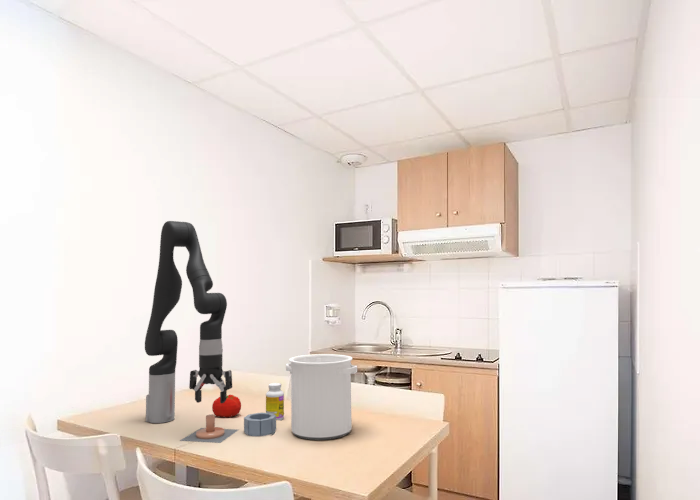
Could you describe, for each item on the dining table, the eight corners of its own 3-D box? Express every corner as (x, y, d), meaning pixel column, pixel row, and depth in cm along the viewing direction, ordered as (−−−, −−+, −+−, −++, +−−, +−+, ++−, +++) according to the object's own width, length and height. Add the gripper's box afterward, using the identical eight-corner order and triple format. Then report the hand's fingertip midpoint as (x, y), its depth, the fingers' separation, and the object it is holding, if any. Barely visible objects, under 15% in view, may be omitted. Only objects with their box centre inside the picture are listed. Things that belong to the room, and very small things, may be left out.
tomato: (230, 421, 177) (230, 400, 177) (206, 418, 181) (206, 398, 181) (247, 413, 187) (247, 394, 187) (223, 411, 191) (223, 392, 191)
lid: (190, 438, 155) (190, 419, 155) (204, 430, 163) (204, 411, 164) (216, 439, 153) (216, 419, 153) (229, 431, 162) (229, 412, 162)
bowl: (240, 437, 157) (240, 420, 158) (252, 428, 167) (252, 412, 167) (269, 438, 155) (268, 421, 156) (279, 429, 165) (279, 413, 166)
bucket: (367, 425, 168) (366, 355, 170) (346, 445, 148) (345, 364, 150) (300, 420, 177) (300, 352, 178) (272, 437, 156) (272, 361, 158)
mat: (179, 442, 153) (179, 440, 153) (201, 429, 166) (201, 427, 166) (220, 444, 150) (220, 442, 150) (239, 431, 164) (239, 429, 164)
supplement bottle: (280, 422, 174) (280, 386, 175) (263, 421, 175) (263, 385, 176) (286, 417, 181) (286, 382, 182) (269, 416, 182) (269, 382, 183)
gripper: (185, 354, 158) (185, 404, 157) (225, 354, 155) (225, 405, 154) (196, 351, 165) (196, 399, 164) (235, 351, 163) (235, 400, 161)
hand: (210, 402), depth 159 cm, fingers open, 8 cm apart
